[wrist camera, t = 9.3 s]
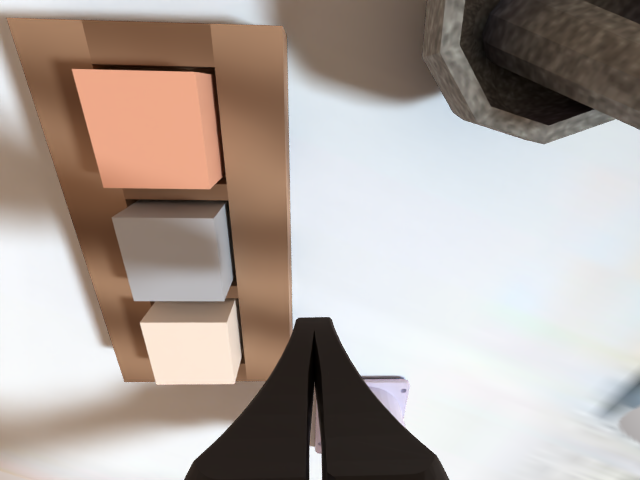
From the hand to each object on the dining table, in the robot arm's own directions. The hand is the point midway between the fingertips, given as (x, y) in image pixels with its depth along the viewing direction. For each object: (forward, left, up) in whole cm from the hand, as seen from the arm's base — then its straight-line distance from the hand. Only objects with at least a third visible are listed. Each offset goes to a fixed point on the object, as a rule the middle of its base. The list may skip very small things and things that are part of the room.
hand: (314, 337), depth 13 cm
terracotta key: (+7, +8, -9) cm, 13 cm away
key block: (+1, +8, -10) cm, 13 cm away
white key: (-6, +7, -9) cm, 13 cm away
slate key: (+1, +8, -9) cm, 11 cm away
